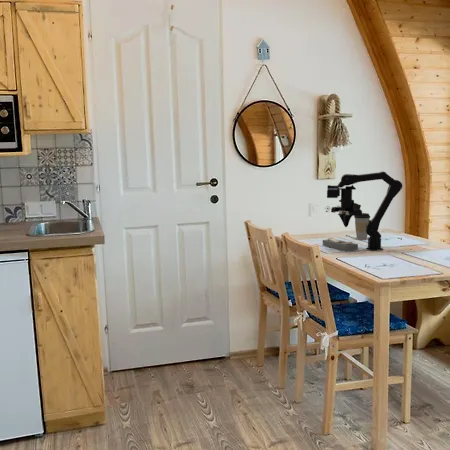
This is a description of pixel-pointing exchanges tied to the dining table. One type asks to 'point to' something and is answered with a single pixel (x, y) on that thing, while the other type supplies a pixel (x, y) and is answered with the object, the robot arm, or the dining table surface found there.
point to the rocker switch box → (340, 245)
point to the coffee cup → (361, 225)
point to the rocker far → (333, 240)
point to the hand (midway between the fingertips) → (346, 226)
